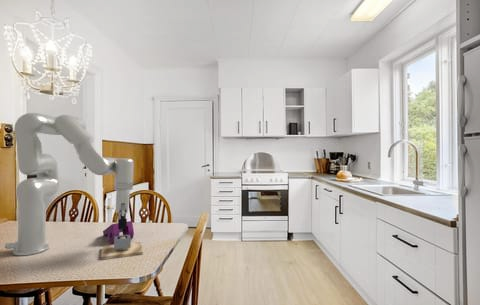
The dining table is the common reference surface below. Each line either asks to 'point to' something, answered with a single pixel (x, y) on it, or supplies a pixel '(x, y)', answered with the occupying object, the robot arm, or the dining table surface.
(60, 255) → the dining table surface
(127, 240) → the collar
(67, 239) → the dining table surface
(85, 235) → the dining table surface
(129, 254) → the hub board
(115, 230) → the mounting bracket
